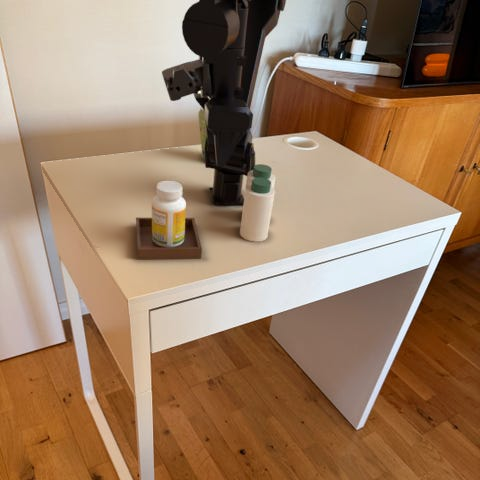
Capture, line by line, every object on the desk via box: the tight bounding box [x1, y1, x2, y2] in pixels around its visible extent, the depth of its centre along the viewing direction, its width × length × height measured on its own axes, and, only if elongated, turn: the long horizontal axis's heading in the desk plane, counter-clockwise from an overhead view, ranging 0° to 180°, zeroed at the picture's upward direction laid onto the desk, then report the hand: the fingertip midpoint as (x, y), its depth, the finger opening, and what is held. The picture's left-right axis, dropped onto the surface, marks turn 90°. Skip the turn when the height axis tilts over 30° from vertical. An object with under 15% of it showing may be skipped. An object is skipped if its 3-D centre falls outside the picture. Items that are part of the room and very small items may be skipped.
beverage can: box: [197, 106, 207, 160], centre depth 101 cm, size 6×7×12 cm
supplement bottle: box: [151, 180, 187, 248], centre depth 73 cm, size 5×5×10 cm
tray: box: [135, 217, 203, 260], centre depth 76 cm, size 10×10×2 cm
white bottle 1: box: [245, 163, 276, 189], centre depth 83 cm, size 5×5×10 cm
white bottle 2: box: [239, 177, 276, 243], centre depth 78 cm, size 5×5×10 cm
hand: (215, 154), depth 73 cm, fingers open, 9 cm apart
